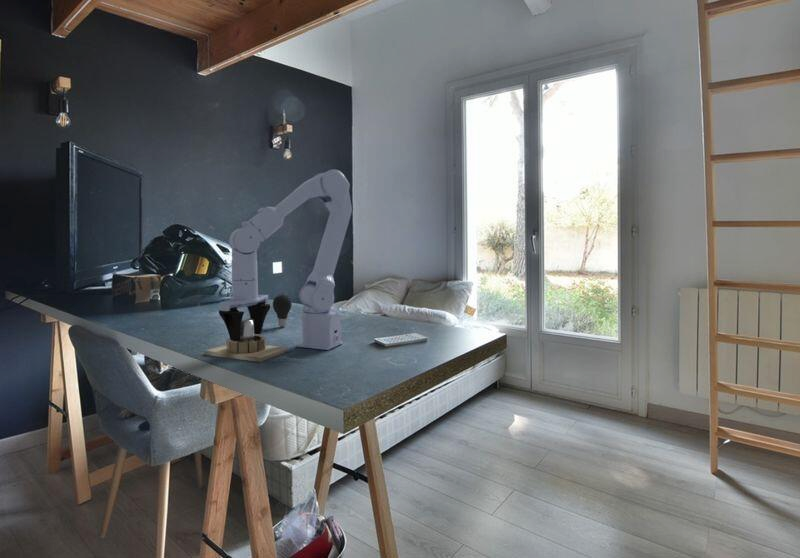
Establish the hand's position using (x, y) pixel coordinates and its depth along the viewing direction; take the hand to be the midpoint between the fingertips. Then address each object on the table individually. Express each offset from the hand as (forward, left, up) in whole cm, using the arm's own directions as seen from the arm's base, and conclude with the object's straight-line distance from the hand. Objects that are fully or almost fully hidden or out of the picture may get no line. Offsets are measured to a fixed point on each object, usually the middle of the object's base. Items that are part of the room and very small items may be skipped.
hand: (246, 336), depth 109 cm
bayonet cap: (0, 0, -3) cm, 3 cm away
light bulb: (+11, -29, -4) cm, 32 cm away
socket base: (0, 0, -4) cm, 4 cm away
